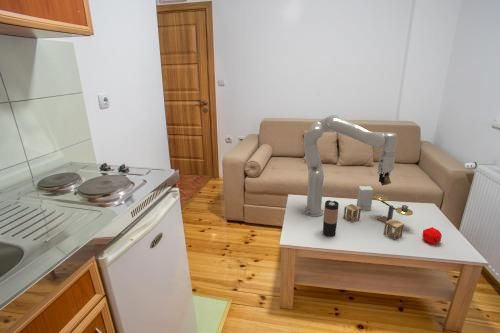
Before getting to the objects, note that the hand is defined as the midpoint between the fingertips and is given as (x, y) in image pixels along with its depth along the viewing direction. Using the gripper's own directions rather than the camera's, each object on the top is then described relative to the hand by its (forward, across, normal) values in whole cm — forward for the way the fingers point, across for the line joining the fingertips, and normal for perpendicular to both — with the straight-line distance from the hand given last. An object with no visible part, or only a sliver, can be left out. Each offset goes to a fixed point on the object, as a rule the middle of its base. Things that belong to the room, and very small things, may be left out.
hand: (383, 181), depth 177 cm
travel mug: (+25, -41, +4) cm, 49 cm away
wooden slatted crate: (+25, -16, +8) cm, 31 cm away
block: (+1, 0, -2) cm, 3 cm away
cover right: (+25, -12, -18) cm, 33 cm away
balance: (+25, 0, -8) cm, 27 cm away
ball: (+26, 0, -33) cm, 42 cm away
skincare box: (+26, +3, +13) cm, 29 cm away
